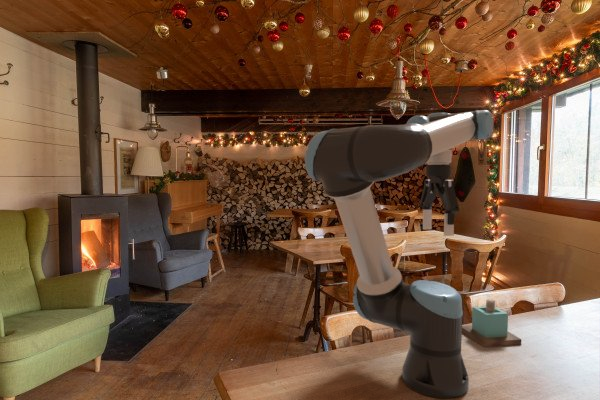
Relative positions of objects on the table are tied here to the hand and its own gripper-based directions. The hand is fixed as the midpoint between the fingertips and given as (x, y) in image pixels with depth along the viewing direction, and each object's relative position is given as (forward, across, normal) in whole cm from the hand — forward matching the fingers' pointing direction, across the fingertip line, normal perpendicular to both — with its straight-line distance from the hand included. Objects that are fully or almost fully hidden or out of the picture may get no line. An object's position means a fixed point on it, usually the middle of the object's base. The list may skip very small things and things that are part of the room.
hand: (437, 232), depth 123 cm
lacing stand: (+32, -7, -14) cm, 35 cm away
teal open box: (+30, -7, -14) cm, 34 cm away
